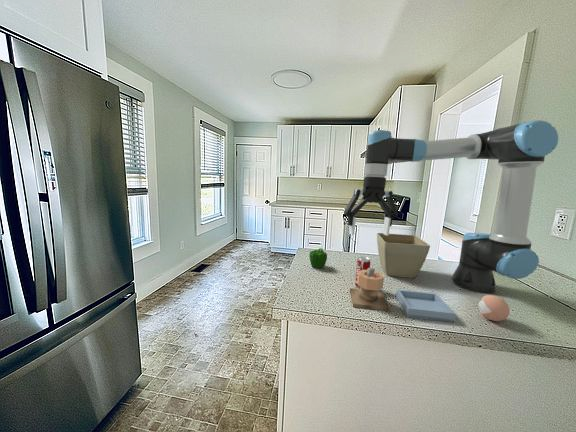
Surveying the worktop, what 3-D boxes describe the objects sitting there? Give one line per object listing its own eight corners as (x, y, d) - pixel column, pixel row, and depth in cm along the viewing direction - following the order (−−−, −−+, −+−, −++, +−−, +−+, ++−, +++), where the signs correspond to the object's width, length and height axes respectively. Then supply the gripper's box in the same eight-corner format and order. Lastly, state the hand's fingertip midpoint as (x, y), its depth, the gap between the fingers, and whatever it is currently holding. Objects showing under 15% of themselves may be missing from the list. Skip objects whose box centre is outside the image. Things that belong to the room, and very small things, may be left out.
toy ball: (477, 309, 85) (481, 288, 84) (506, 318, 80) (511, 296, 79) (475, 319, 79) (479, 296, 78) (507, 329, 74) (512, 305, 73)
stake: (381, 294, 94) (384, 264, 92) (389, 310, 82) (393, 277, 80) (349, 291, 96) (352, 261, 94) (352, 306, 84) (355, 273, 82)
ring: (379, 281, 91) (380, 271, 91) (384, 291, 83) (385, 280, 83) (356, 279, 93) (357, 269, 92) (359, 288, 85) (359, 277, 84)
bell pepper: (306, 264, 123) (307, 245, 122) (321, 263, 126) (322, 244, 124) (313, 270, 116) (314, 250, 114) (328, 269, 118) (330, 249, 116)
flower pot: (426, 282, 107) (431, 245, 104) (381, 278, 110) (385, 242, 107) (411, 267, 126) (415, 235, 123) (373, 263, 128) (376, 232, 126)
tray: (435, 300, 91) (436, 293, 90) (454, 322, 77) (455, 313, 76) (395, 296, 93) (396, 289, 92) (407, 316, 79) (408, 308, 79)
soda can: (368, 289, 97) (371, 261, 96) (355, 288, 98) (357, 259, 97) (367, 284, 103) (369, 257, 101) (354, 282, 104) (356, 255, 102)
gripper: (400, 178, 92) (393, 232, 96) (338, 174, 88) (333, 231, 91) (413, 178, 85) (405, 237, 88) (346, 174, 81) (340, 236, 84)
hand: (368, 234), depth 90 cm, fingers open, 13 cm apart
